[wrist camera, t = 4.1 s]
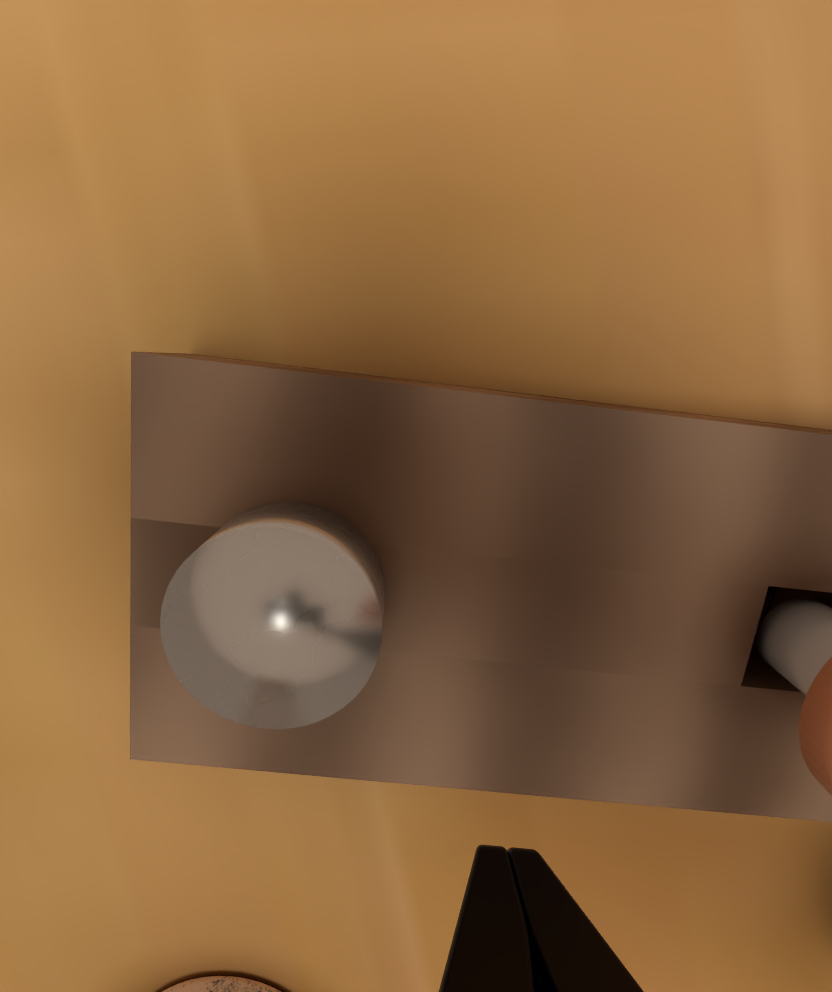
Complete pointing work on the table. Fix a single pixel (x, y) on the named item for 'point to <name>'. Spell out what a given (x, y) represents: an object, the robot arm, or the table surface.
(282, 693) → the grey plunger
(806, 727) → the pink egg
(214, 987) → the teacup with lid
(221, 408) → the press block
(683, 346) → the table surface
